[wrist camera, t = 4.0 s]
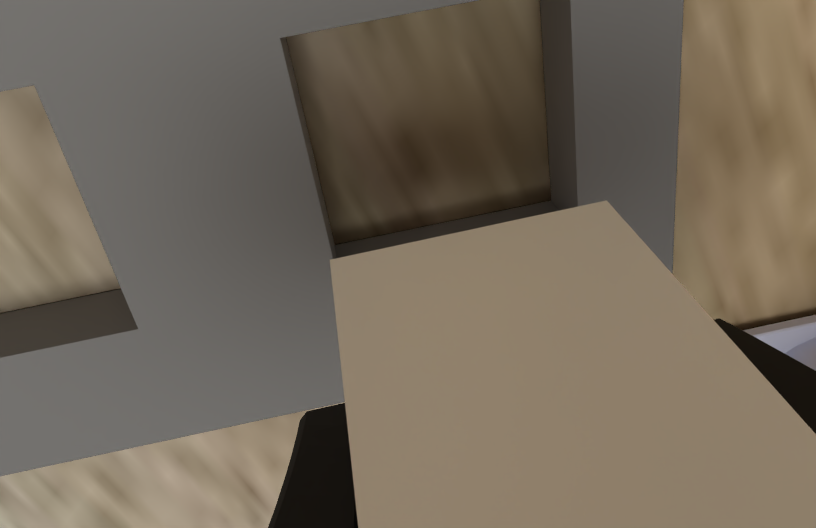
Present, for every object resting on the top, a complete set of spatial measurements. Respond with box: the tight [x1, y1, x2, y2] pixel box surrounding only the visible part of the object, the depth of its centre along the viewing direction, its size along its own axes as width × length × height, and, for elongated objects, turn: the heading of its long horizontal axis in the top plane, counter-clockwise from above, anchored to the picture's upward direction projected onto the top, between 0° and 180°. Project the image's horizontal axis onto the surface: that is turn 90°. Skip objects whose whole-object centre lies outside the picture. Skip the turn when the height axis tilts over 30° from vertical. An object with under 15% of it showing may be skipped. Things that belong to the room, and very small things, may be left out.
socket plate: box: [0, 0, 684, 476], centre depth 15 cm, size 20×14×2 cm
